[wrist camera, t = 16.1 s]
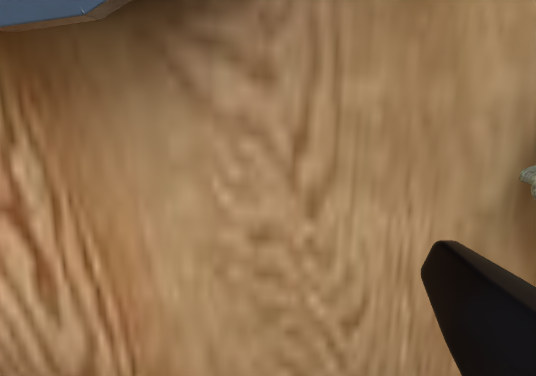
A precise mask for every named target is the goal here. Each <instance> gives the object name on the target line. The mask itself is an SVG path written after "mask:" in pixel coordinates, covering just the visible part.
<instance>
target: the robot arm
mask: <svg viewBox="0 0 536 376" xmlns="http://www.w3.org/2000/svg"><path fill="white" fill-rule="evenodd" d="M421 278H422V281H423V284H424V287H425V289H426V292H427V295H428V297H429V300H430V302H431V305H432V308H433V310H434V313H435V316H436V318H437V321H438V324H439V326H440V329H441V332H442V334H443V337H444V339H445V341H446V344H447V346H448V348H449V350H450V352H451V354H452V356H453V359H454V361H455V363H456V365H457V367H458V369H459V371H460V373H461V375H462V376H536V287H535V286H533V285H531V284H530V283H528V282H526V281H524V280H523V279H521V278H519V277H517V276H516V275H514V274H512V273H511V272H509V271H507V270H505V269H504V268H502V267H500V266H498V265H497V264H495V263H493V262H491V261H490V260H488V259H486V258H485V257H483V256H481V255H479V254H478V253H476V252H474V251H472V250H471V249H469V248H467V247H465V246H464V245H462V244H460V243H459V242H456V241H452V240H446V241H437V242H436V243H434V245H433V246H432V248H431V250H430V252H429V254H428V256H427V258H426V260H425V262H424V264H423V266H422V268H421Z"/></svg>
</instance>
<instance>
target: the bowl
mask: <svg viewBox="0 0 536 376" xmlns="http://www.w3.org/2000/svg"><path fill="white" fill-rule="evenodd" d="M129 1H131V0H0V31H7V32H19V31H26V30H33V29H40V28H47V27H54V26H61V25H68V24H75V23H82V22H89V21H96V20H99V19H103V18H105V17H106V16H108V15H110V14H111V13H113V12H114V11H116V10H117V9H119V8H120V7H122V6H123V5H125V4H126V3H128V2H129Z"/></svg>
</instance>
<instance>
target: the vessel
mask: <svg viewBox="0 0 536 376" xmlns="http://www.w3.org/2000/svg"><path fill="white" fill-rule="evenodd" d="M520 180H521V181H522V182H525V183H529V184H530V185H532V188H531V194H532V196H533V198H534V199H535V200H536V165H534V166H530V167H528V168H525V169H524V170H523V171H522V172H521V175H520Z"/></svg>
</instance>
